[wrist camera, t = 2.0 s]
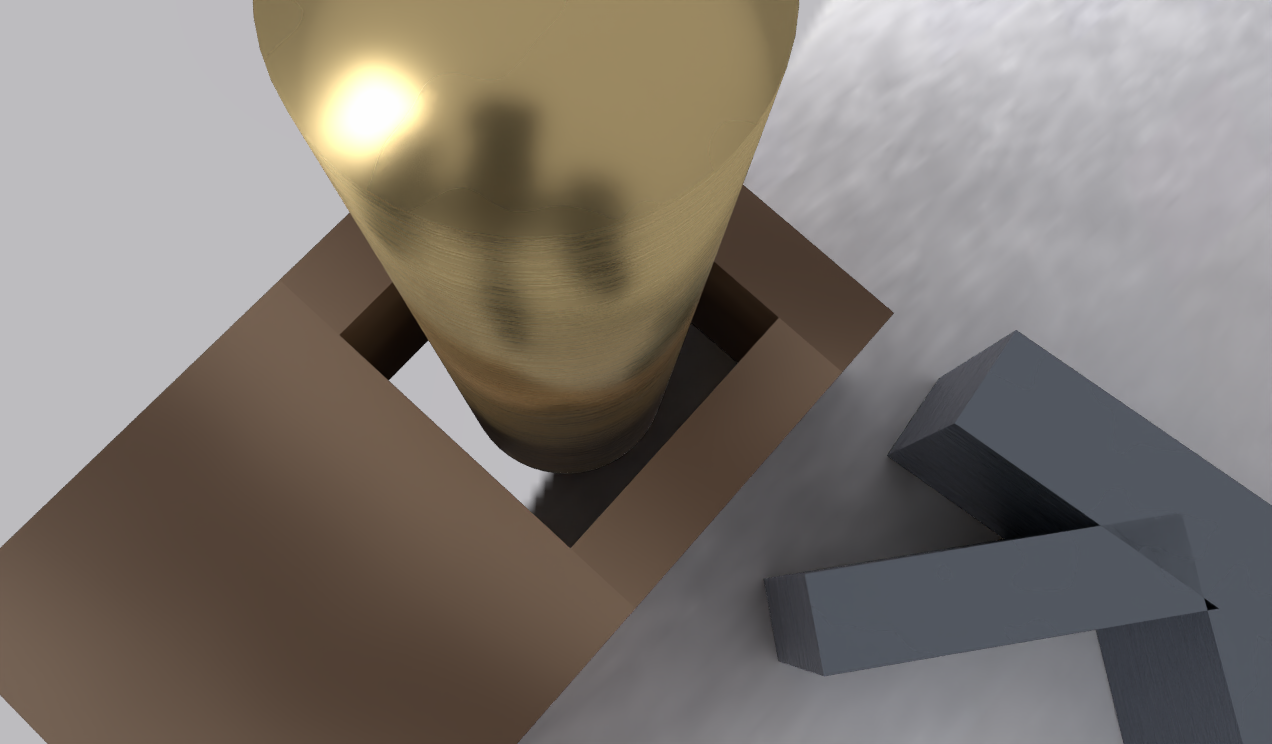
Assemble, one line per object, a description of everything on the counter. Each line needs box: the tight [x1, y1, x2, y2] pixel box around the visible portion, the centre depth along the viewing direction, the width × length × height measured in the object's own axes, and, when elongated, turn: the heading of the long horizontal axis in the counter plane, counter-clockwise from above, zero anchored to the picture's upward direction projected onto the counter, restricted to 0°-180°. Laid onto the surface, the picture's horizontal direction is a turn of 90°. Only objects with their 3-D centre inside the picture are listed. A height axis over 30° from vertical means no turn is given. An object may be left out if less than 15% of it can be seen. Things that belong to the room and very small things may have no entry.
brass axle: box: [253, 0, 799, 474], centre depth 14 cm, size 4×4×14 cm
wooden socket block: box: [0, 185, 894, 744], centre depth 19 cm, size 14×8×4 cm, turn 138°
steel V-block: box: [764, 330, 1272, 744], centre depth 19 cm, size 7×11×4 cm, turn 54°
